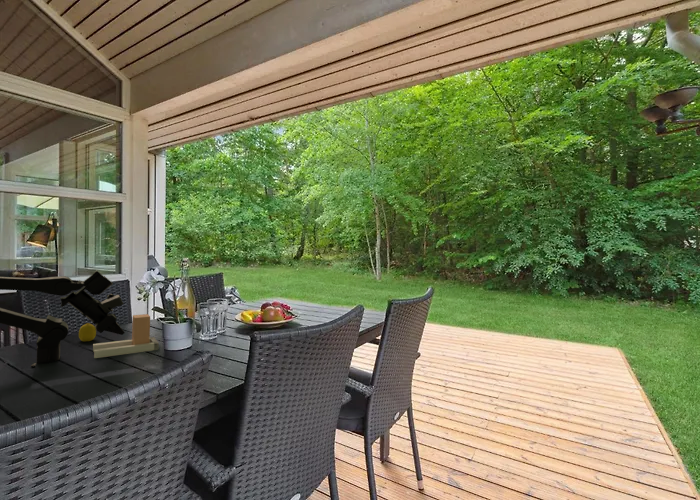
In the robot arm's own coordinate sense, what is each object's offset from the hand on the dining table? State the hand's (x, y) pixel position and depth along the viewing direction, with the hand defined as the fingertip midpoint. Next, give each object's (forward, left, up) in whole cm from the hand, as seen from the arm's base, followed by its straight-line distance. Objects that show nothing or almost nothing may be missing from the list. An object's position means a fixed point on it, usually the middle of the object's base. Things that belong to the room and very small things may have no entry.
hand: (123, 333), depth 129 cm
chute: (0, -1, -7) cm, 7 cm away
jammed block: (+3, -5, -6) cm, 8 cm away
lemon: (+13, +18, -7) cm, 24 cm away
